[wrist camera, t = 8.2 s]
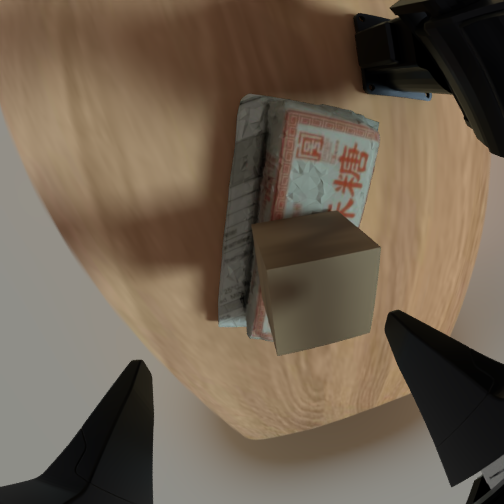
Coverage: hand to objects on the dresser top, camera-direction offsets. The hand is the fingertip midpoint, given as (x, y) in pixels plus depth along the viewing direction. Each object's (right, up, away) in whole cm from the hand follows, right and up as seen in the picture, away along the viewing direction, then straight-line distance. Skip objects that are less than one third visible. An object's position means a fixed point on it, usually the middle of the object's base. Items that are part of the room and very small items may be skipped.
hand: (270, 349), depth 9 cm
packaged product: (+2, +5, +12) cm, 13 cm away
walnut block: (+2, +3, +7) cm, 8 cm away
